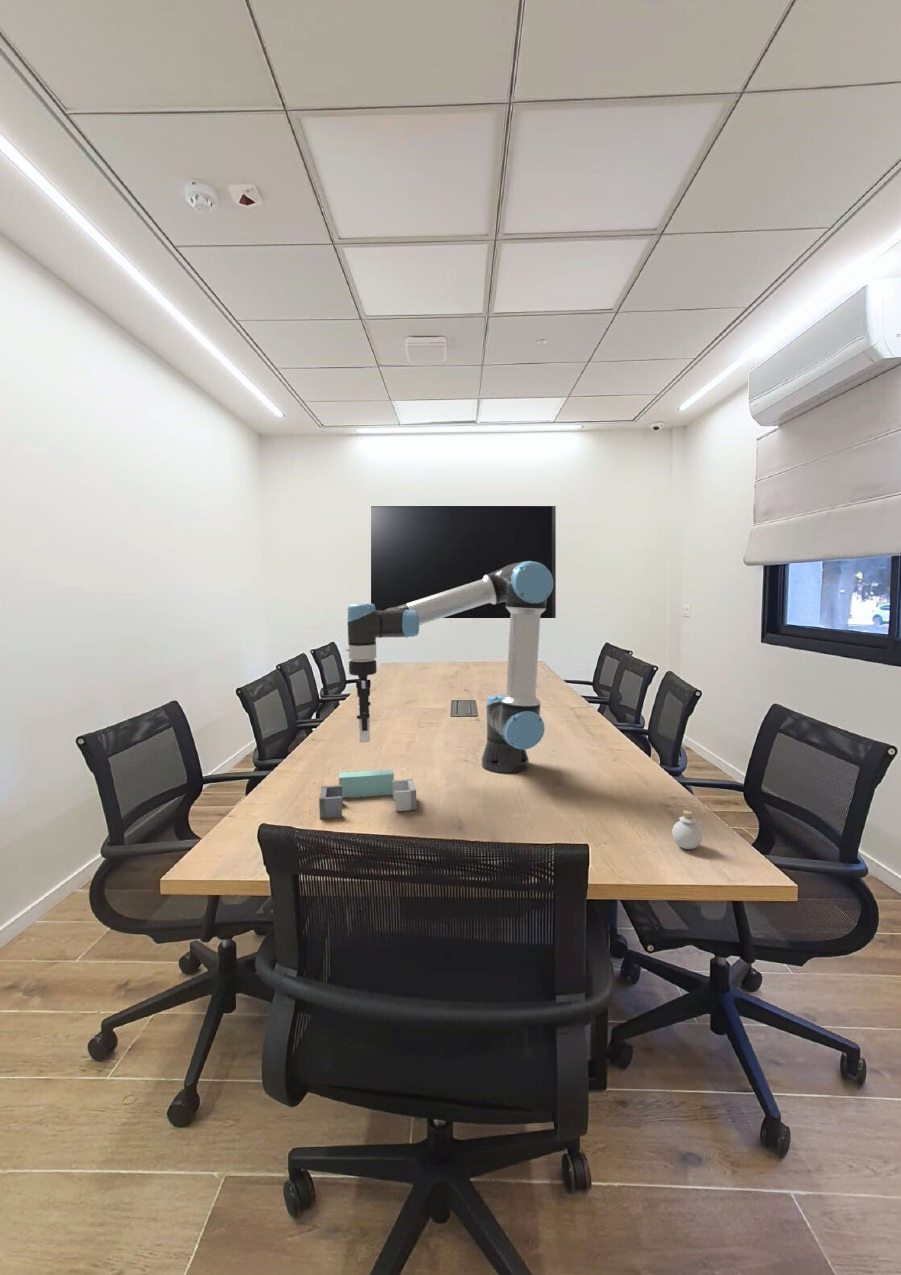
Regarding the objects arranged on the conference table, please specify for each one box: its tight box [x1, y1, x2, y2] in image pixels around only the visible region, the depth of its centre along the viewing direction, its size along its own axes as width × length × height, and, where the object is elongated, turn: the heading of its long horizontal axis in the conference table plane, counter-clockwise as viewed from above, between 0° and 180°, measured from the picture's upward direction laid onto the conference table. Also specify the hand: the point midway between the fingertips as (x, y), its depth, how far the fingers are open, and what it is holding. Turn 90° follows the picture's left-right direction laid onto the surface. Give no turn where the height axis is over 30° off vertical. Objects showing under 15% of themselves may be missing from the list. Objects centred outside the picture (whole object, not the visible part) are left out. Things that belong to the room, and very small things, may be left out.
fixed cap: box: [318, 784, 344, 819], centre depth 141 cm, size 6×9×5 cm, turn 10°
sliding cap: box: [392, 778, 418, 812], centre depth 144 cm, size 6×9×5 cm, turn 10°
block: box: [338, 768, 395, 799], centre depth 152 cm, size 15×4×6 cm, turn 100°
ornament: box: [671, 804, 709, 850], centre depth 119 cm, size 6×7×10 cm
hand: (364, 735), depth 151 cm, fingers open, 13 cm apart
